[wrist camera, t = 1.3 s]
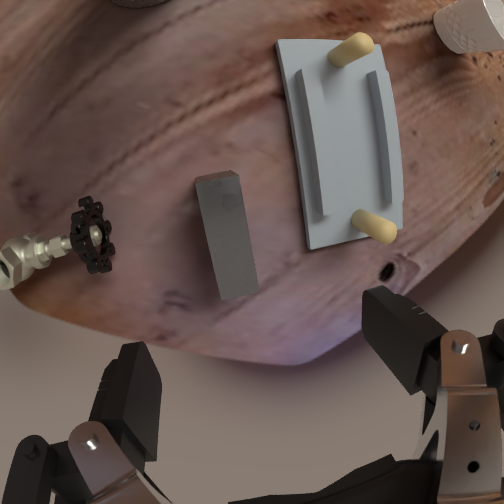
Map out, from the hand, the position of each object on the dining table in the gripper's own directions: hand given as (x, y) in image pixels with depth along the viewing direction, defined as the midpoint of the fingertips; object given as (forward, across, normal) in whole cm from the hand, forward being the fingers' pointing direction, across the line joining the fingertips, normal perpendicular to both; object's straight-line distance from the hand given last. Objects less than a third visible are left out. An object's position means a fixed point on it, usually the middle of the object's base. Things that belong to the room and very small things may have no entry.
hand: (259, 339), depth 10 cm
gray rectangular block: (+18, 0, 0) cm, 18 cm away
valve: (+18, +16, -2) cm, 24 cm away
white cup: (+18, -33, -21) cm, 43 cm away
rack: (+18, -13, -6) cm, 23 cm away
